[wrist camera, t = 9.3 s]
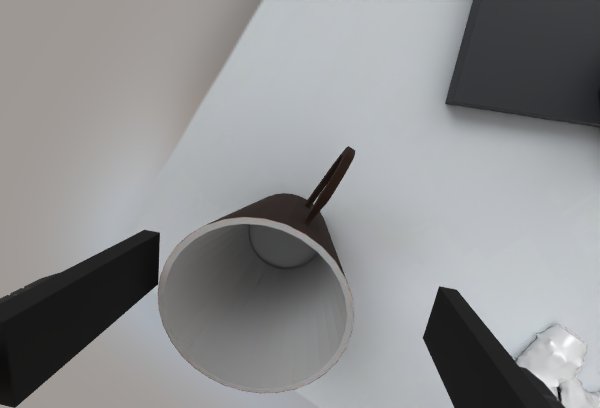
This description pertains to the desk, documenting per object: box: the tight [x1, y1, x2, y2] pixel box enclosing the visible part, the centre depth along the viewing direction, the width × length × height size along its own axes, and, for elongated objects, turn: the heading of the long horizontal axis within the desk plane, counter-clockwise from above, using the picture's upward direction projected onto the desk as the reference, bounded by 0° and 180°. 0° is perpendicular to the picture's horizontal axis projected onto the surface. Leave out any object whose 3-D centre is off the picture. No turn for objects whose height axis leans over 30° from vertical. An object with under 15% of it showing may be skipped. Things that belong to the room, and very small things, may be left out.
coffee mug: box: [158, 146, 355, 393], centre depth 17 cm, size 12×9×10 cm
